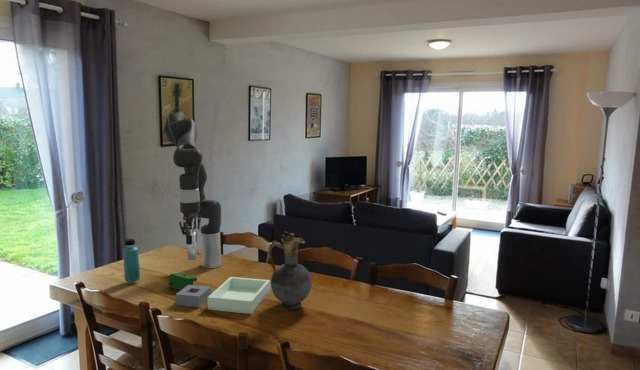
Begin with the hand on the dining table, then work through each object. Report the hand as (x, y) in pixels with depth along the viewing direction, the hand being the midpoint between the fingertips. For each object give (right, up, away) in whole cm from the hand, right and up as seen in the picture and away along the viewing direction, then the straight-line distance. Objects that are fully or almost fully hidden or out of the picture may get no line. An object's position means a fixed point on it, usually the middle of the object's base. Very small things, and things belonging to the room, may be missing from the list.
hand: (191, 242), depth 170 cm
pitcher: (+38, -25, +1) cm, 46 cm away
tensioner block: (0, -24, +4) cm, 24 cm away
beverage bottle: (-33, -21, +22) cm, 45 cm away
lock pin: (0, -7, +1) cm, 7 cm away
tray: (+19, -24, +5) cm, 31 cm away
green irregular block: (-9, -22, +18) cm, 30 cm away
